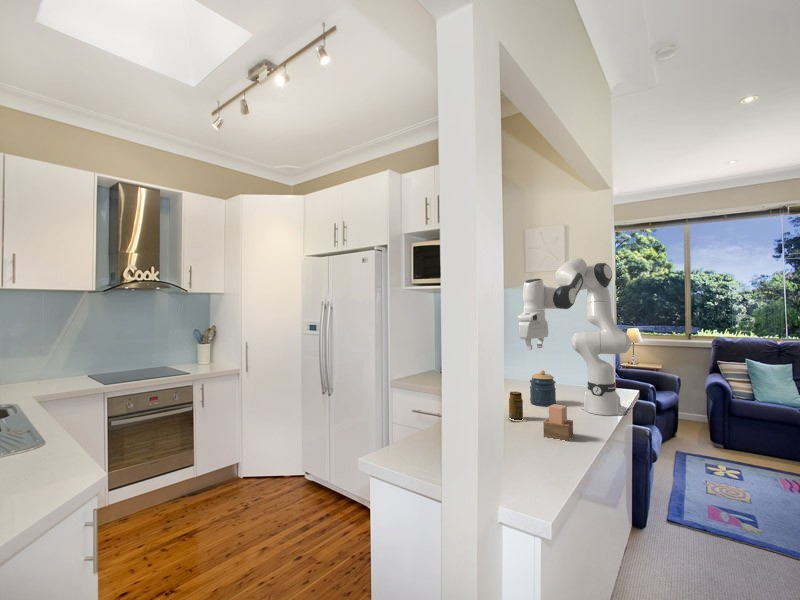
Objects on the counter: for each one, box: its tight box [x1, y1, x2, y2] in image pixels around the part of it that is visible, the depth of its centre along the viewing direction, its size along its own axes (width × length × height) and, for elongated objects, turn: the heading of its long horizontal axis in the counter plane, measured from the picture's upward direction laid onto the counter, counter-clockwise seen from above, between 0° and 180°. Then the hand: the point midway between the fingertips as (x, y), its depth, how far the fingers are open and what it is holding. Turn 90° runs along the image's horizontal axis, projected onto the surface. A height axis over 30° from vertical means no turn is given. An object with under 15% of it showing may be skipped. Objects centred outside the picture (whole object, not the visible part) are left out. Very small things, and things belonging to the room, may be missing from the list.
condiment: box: [508, 391, 527, 423], centre depth 178 cm, size 7×8×12 cm
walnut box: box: [543, 417, 574, 442], centre depth 154 cm, size 9×9×6 cm
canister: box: [529, 370, 557, 407], centre depth 207 cm, size 13×13×18 cm
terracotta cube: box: [548, 403, 568, 424], centre depth 153 cm, size 5×5×6 cm
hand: (534, 348), depth 167 cm, fingers open, 8 cm apart
